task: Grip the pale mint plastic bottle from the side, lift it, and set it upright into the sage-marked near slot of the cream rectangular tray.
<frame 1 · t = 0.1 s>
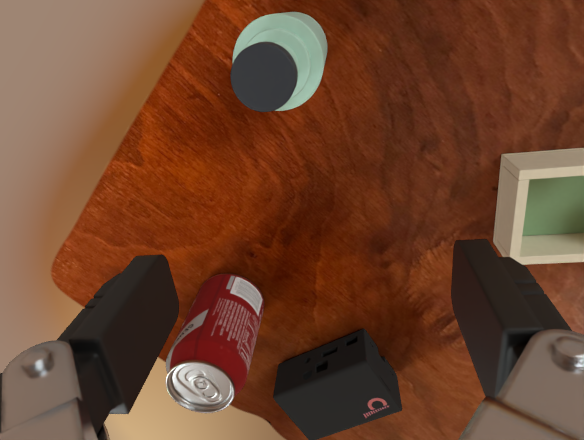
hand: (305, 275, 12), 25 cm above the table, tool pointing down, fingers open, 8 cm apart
bottle: (293, 49, 33), on the table
soda can: (233, 295, 45), on the table
electronic device: (337, 366, 48), on the table
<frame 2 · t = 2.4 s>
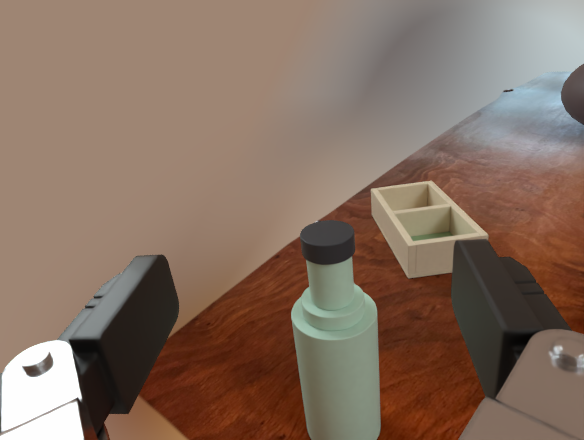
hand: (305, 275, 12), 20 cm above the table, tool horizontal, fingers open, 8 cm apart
bottle: (343, 423, 31), on the table
cream rectangular tray: (421, 238, 52), on the table
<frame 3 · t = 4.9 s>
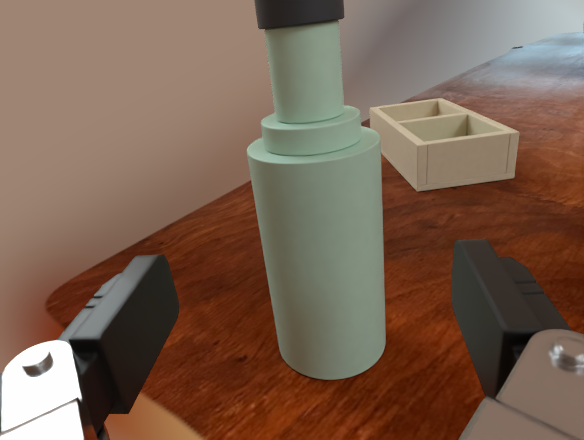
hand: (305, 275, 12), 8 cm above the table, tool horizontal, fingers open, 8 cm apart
bottle: (331, 339, 21), on the table
cream rectangular tray: (430, 157, 43), on the table
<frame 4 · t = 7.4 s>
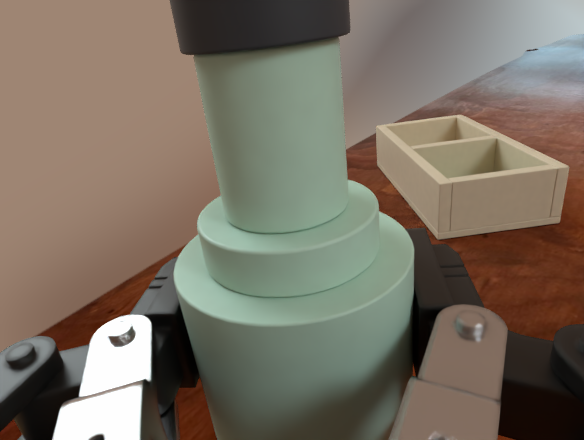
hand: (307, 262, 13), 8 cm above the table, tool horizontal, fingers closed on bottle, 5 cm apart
cream rectangular tray: (450, 188, 36), on the table
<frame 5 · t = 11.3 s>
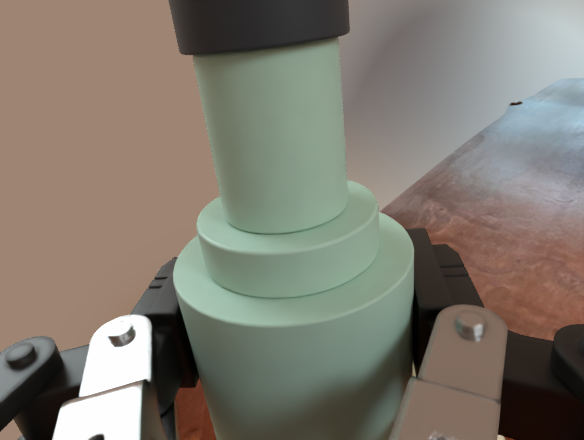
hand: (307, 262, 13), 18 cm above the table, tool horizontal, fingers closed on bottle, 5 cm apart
when the fingers open (9 cm above the table, at t = 15.6 s): bottle stays where it is, resting on cream rectangular tray.
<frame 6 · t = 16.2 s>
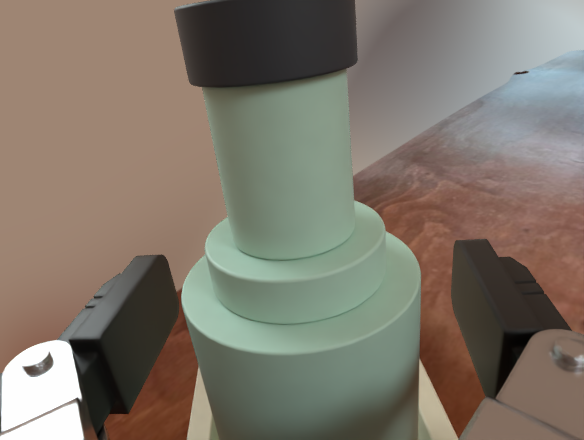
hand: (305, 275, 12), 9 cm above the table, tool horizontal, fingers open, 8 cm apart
cream rectangular tray: (316, 439, 18), on the table
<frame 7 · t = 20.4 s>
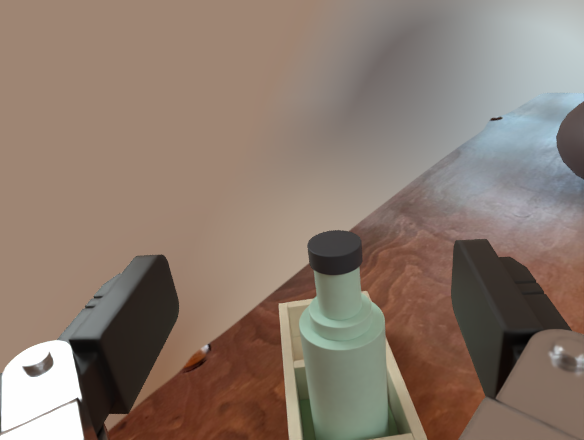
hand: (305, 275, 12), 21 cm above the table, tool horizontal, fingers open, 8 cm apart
bottle: (351, 431, 31), point 1 cm above the table, touching cream rectangular tray
cream rectangular tray: (341, 395, 34), on the table
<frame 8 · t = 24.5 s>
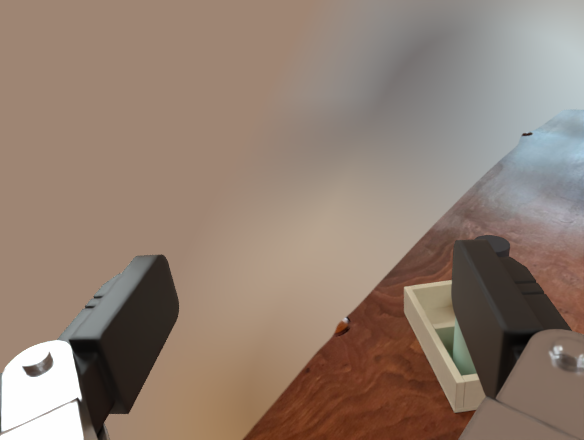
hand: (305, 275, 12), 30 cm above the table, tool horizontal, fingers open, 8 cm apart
bottle: (478, 370, 45), point 1 cm above the table, touching cream rectangular tray
cream rectangular tray: (461, 350, 49), on the table
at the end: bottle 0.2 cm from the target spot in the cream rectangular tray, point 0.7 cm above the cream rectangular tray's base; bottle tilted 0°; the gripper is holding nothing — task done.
